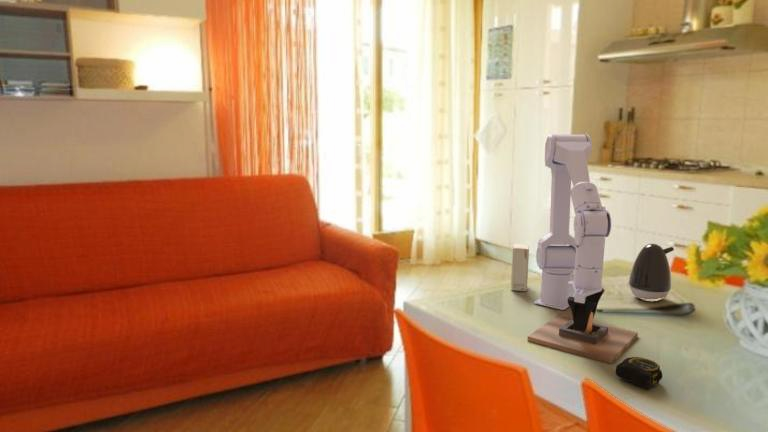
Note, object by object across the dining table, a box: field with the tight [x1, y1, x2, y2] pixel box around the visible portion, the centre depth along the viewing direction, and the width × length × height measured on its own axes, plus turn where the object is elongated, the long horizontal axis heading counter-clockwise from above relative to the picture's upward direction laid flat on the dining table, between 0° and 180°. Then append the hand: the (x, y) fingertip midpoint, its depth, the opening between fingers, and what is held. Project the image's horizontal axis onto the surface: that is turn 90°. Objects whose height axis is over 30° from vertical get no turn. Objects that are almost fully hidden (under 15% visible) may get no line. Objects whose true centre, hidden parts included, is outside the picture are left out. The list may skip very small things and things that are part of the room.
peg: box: [575, 312, 594, 334], centre depth 125 cm, size 4×4×5 cm
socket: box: [526, 313, 639, 365], centre depth 125 cm, size 18×18×2 cm
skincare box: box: [510, 243, 530, 292], centre depth 159 cm, size 6×4×12 cm
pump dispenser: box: [628, 243, 675, 299], centre depth 150 cm, size 10×10×15 cm
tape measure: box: [615, 356, 663, 390], centre depth 105 cm, size 7×7×4 cm
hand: (584, 324), depth 125 cm, fingers open, 7 cm apart
